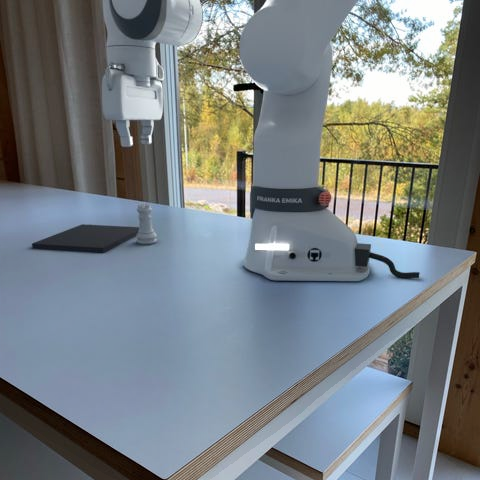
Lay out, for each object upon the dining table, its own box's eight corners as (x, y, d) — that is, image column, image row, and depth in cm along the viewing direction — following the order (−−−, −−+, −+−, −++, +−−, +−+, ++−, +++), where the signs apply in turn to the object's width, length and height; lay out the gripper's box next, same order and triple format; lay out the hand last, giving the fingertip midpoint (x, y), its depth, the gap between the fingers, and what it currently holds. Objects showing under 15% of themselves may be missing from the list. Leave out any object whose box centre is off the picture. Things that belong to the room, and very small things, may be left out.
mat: (143, 231, 112) (143, 227, 112) (103, 252, 94) (103, 247, 94) (82, 228, 116) (81, 224, 115) (32, 248, 98) (31, 243, 97)
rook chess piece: (155, 239, 105) (153, 202, 102) (158, 244, 101) (156, 206, 98) (135, 240, 104) (131, 203, 100) (137, 245, 100) (134, 207, 97)
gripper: (123, 60, 79) (129, 148, 84) (167, 71, 97) (169, 143, 103) (88, 60, 80) (97, 147, 85) (138, 71, 98) (142, 142, 104)
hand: (137, 145), depth 94 cm, fingers open, 8 cm apart
